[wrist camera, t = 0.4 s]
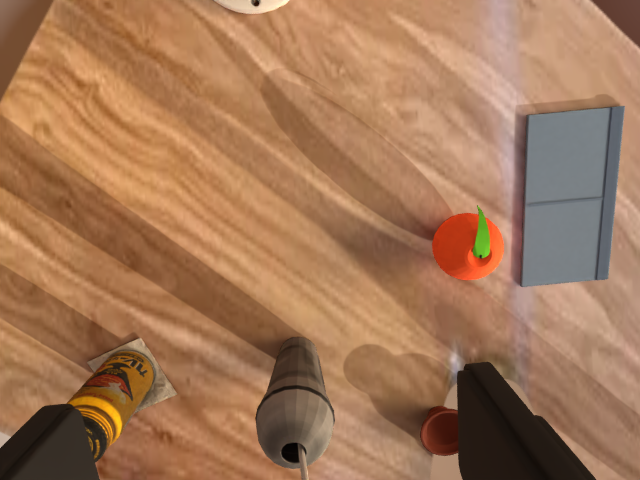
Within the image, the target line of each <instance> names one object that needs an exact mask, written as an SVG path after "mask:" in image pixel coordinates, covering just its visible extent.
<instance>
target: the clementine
mask: <svg viewBox="0 0 640 480" xmlns="http://www.w3.org/2000/svg"><path fill="white" fill-rule="evenodd" d="M477 207H478V205H477ZM478 211H479V215H477V214H471V213H464V214H458V215H455V216H452V217H450V218H449V219H447V220H446V221H444V222H443V223H442V225H441V226H440V227H439V228H438V230H437V231H436V233H435V235H434V239H433V243H432V249H433V254H434V258H435V260H436V262H437V263H438V265H439V266H440V268H441V269H442V270H443V271H445V272H446V273H447V274H449V275H450V276H453V277H455V278H457V279H462V280H473V279H479V278H482V277H485V276H486V275H488V274H489V273H491V272H492V271H493V270H494V269H495V268H496V267H497V266H498V264H499V263H500V261H501V259H502V255H503V252H504V244H503V239H502V235H501V233H500V231H499V229H498V228H497V226H495V225H494V224H493V223H492V222H491V221H490V220H489V219H487V218H485V216H484V214H483V212H482V210H481V209H480V208H479V207H478Z"/></svg>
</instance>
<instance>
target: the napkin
mask: <svg viewBox="0 0 640 480" xmlns="http://www.w3.org/2000/svg"><path fill="white" fill-rule="evenodd" d="M624 110H625V106H619V107H608V108H598V109H587V110H577V111H566V112H555V113H545V114H534V115H527V125H526V152H525V178H524V205H523V231H522V258H521V284H520V286H521V287H527V286H537V285H548V284H558V283H569V282H579V281H589V280H605V279H608V275H609V264H610V254H611V244H612V233H613V223H614V213H615V202H616V192H617V182H618V171H619V161H620V151H621V141H622V130H623V120H624Z"/></svg>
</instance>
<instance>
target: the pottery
mask: <svg viewBox="0 0 640 480" xmlns="http://www.w3.org/2000/svg"><path fill="white" fill-rule="evenodd" d="M420 438H421V442H422V444H423V446H424V447H425V448H426V449H427V450H428V451H430V452H431V453H433V454H436V455H442V456H447V455H453V454H456V453H458V410H454V409H447V408H446V407H443V406H437V407H434V408H432V409H431V410H430V411H429V413H428V416H427V418H426V419H425V421H424V422H423V424H422V427H421V432H420Z"/></svg>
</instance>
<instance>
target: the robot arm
mask: <svg viewBox="0 0 640 480" xmlns="http://www.w3.org/2000/svg"><path fill="white" fill-rule="evenodd" d="M213 1H215V2H217V3H218V4H220V5H221V6H223V7H225V8H227V9H230V10H233V11H235V12H240V13H246V14H259V13H264V12H268V11H272V10H275V9H277V8H279V7H281V6H283V5H285V4H286V3H287V2H288V1H290V0H213ZM255 2H259V5H258V6H254V3H255ZM457 397H458V454H459V455H458V459H459V468H460V473H461V476H462V479H463V480H596V479H595V477H594V476H593V475H592V474H591V473H590V472H589V470H588V469H587V468H586V467H585V466H584V465H583V463H582V462H581V461H580V460H579V459H578V458H577V456H576V455H575V454H574V453H573V452H572V451H571V449H570V448H569V447H568V446H567V445H566V443H565V442H564V441H563V440H562V439H561V438H560V436H559V435H558V434H557V433H556V432H555V431H554V429H553V428H552V427H551V426H550V425H549V424H548V422H547V421H546V420H545V419H543V418H542V417H541V416H538V415H533V414H532V412H531V411H530V410H529V409H528V408H527V406H526V405H525V404H524V403H523V401H522V400H521V399H520V398H519V397H518V395H517V394H516V393H515V392H514V390H513V389H512V388H511V387H510V386H509V384H508V383H507V382H506V381H505V380H504V378H503V377H502V376H501V375H500V374H499V372H498V371H497V370H496V369H495V367H494V366H493V365H492V364H491V363H490V362H482V363H472V364H466V365H465V366H464V370H463V371H458V373H457ZM0 480H100V479H99V476H98V472H97V468H96V465H95V461H94V457H93V454H92V450H91V446H90V443H89V439H88V435H87V432H86V428H85V425H84V421H83V417H82V414H81V412H80V411H79V410H78V409H75V407H74V406H73V405H72V404H59V405H49V406H44V407H42V408H41V409H40V410H39V411H38V412H37V413H36V414H35V415H33V416H32V417H31V418H30V419H29V420H28V421H27V422H26V423H25V424H24V425H23V426H22V427H21V428H20V429H19V430H18V431H17V432H16V433H15V434H14V435H13V436H12V437H11V438H10V439H9V440H8V441H7V442H6V443H5V444H4V445H3V446H2V447H1V448H0Z"/></svg>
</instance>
